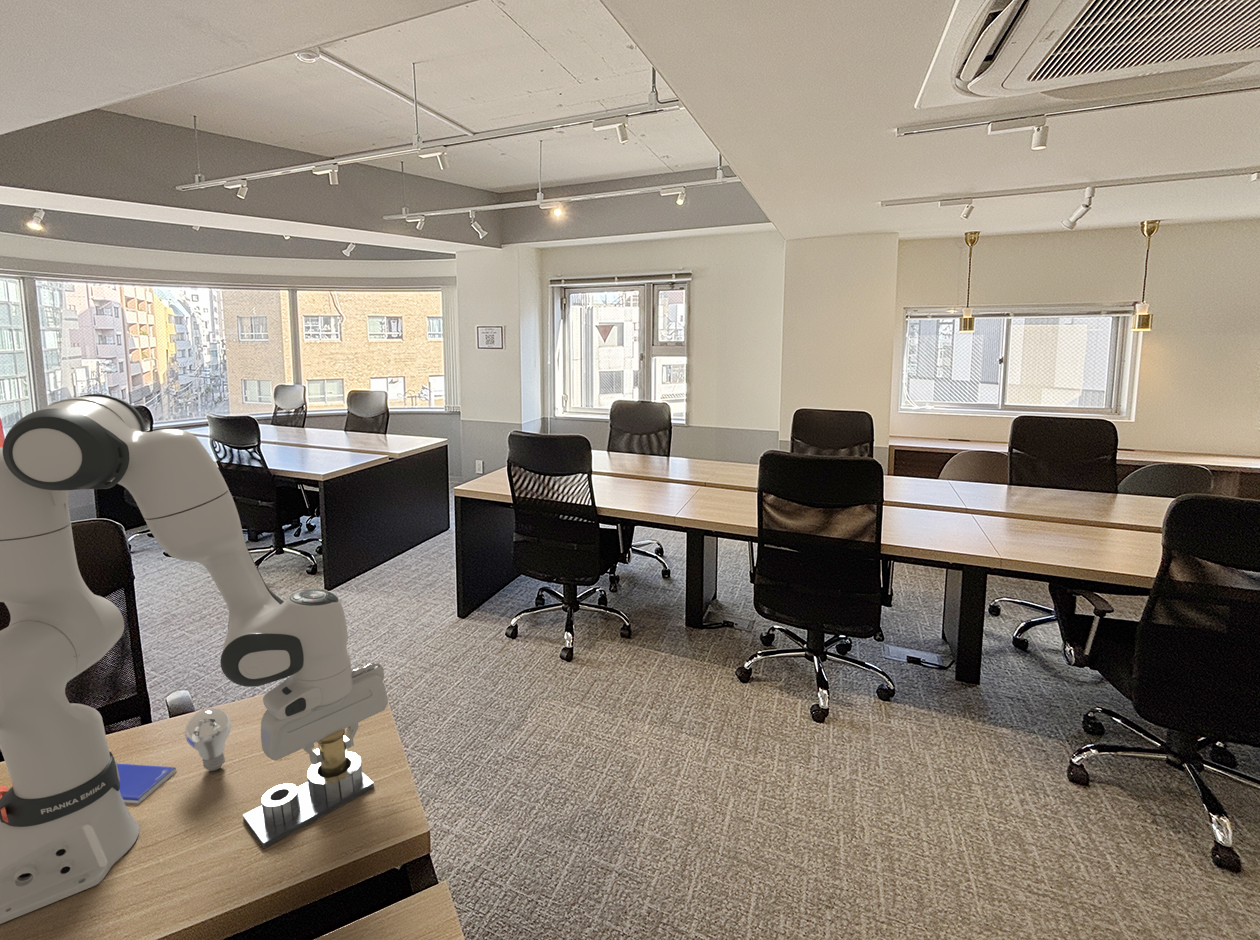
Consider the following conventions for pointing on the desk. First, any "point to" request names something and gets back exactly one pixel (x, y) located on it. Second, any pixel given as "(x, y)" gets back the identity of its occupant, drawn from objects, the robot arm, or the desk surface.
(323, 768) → the brass fitting
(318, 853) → the desk surface
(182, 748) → the desk surface
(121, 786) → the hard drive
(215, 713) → the light bulb
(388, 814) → the desk surface
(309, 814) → the manifold plate
